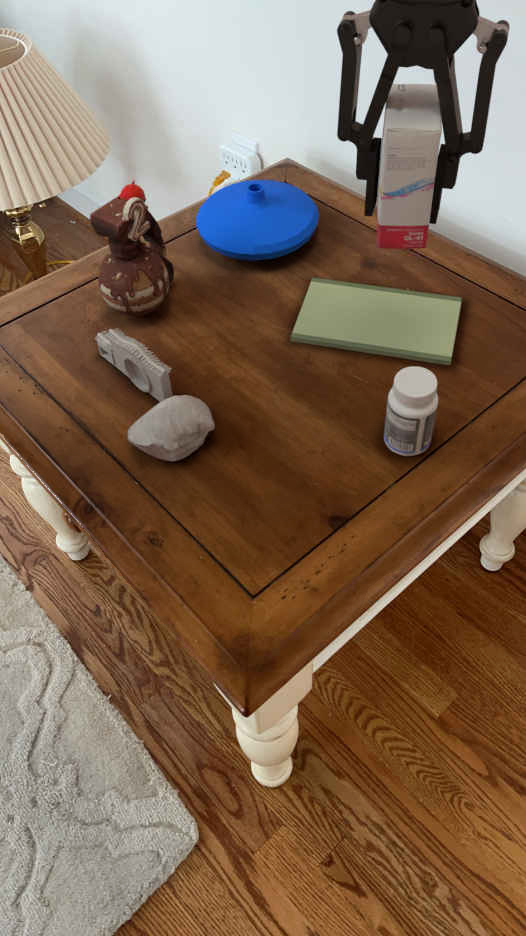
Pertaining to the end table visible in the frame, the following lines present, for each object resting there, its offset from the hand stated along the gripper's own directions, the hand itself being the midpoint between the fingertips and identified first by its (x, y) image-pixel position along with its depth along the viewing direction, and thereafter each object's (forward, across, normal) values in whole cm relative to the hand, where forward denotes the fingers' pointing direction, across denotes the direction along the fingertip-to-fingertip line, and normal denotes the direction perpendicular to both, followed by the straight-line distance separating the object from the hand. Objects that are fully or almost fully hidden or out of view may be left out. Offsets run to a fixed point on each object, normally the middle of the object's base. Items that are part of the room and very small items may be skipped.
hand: (401, 211), depth 72 cm
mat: (+16, +2, -2) cm, 16 cm away
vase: (+16, +20, -15) cm, 29 cm away
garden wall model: (+16, +26, +13) cm, 33 cm away
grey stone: (+16, +19, +20) cm, 32 cm away
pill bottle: (+16, -4, +15) cm, 22 cm away
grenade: (+16, +30, +1) cm, 34 cm away
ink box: (+2, 0, 0) cm, 2 cm away
